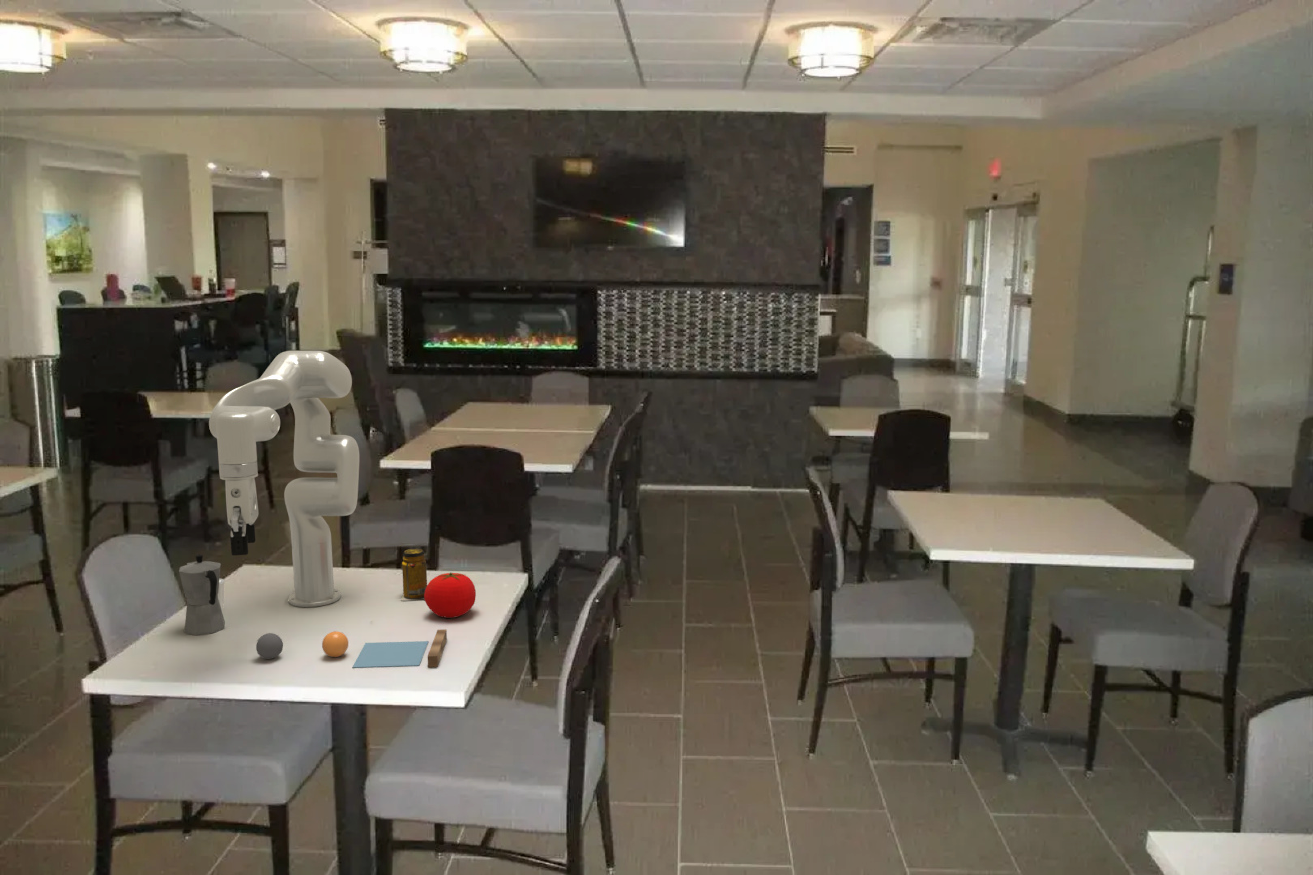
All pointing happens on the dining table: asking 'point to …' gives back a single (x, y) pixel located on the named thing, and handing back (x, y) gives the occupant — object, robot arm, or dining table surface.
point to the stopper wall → (437, 648)
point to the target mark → (391, 654)
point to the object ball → (335, 644)
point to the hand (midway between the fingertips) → (243, 548)
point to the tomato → (450, 595)
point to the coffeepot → (202, 597)
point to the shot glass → (221, 592)
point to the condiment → (414, 575)
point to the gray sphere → (269, 646)
